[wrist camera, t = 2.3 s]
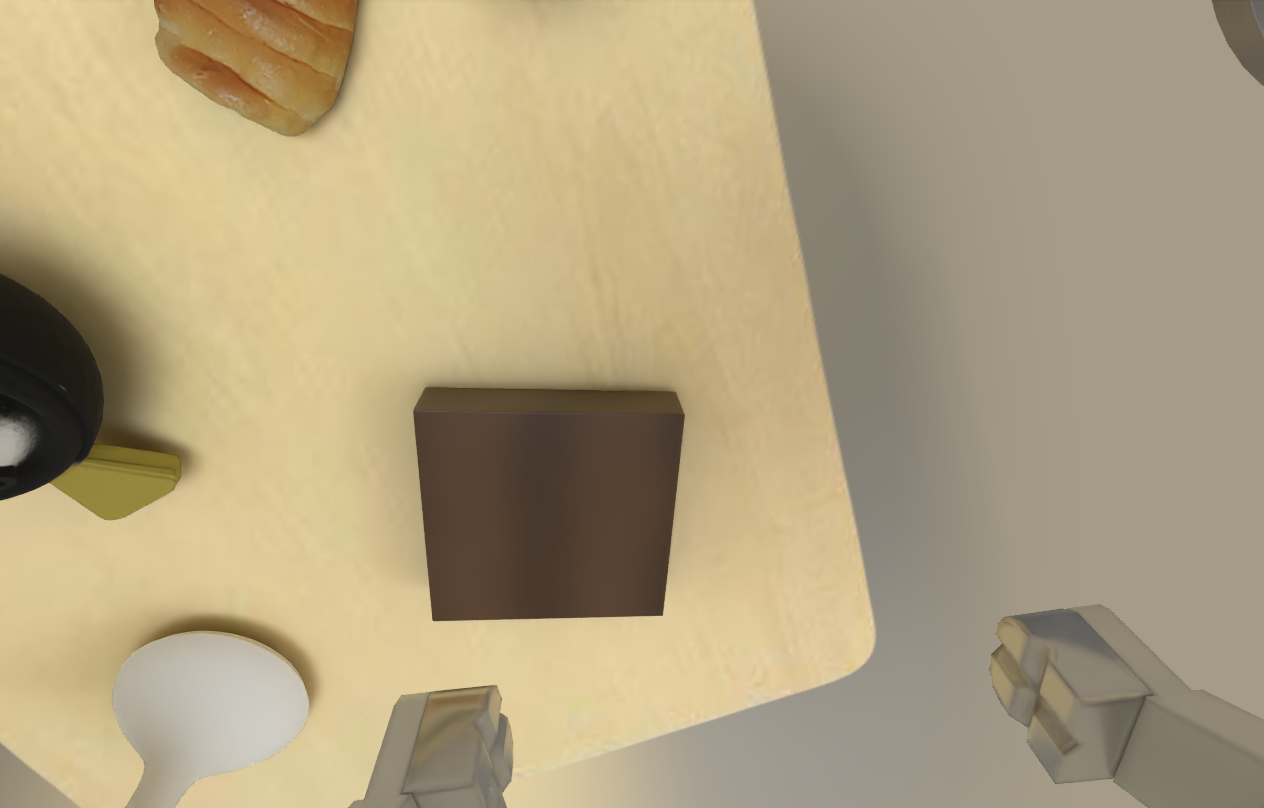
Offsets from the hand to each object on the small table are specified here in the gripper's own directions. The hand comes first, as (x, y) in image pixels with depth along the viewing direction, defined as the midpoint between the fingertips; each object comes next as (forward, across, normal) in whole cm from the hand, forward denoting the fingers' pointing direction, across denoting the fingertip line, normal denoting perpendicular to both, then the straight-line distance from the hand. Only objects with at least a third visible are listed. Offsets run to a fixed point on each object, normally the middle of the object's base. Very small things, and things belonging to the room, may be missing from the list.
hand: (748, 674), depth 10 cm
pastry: (+25, -14, +13) cm, 32 cm away
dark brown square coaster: (+25, -7, -13) cm, 29 cm away
